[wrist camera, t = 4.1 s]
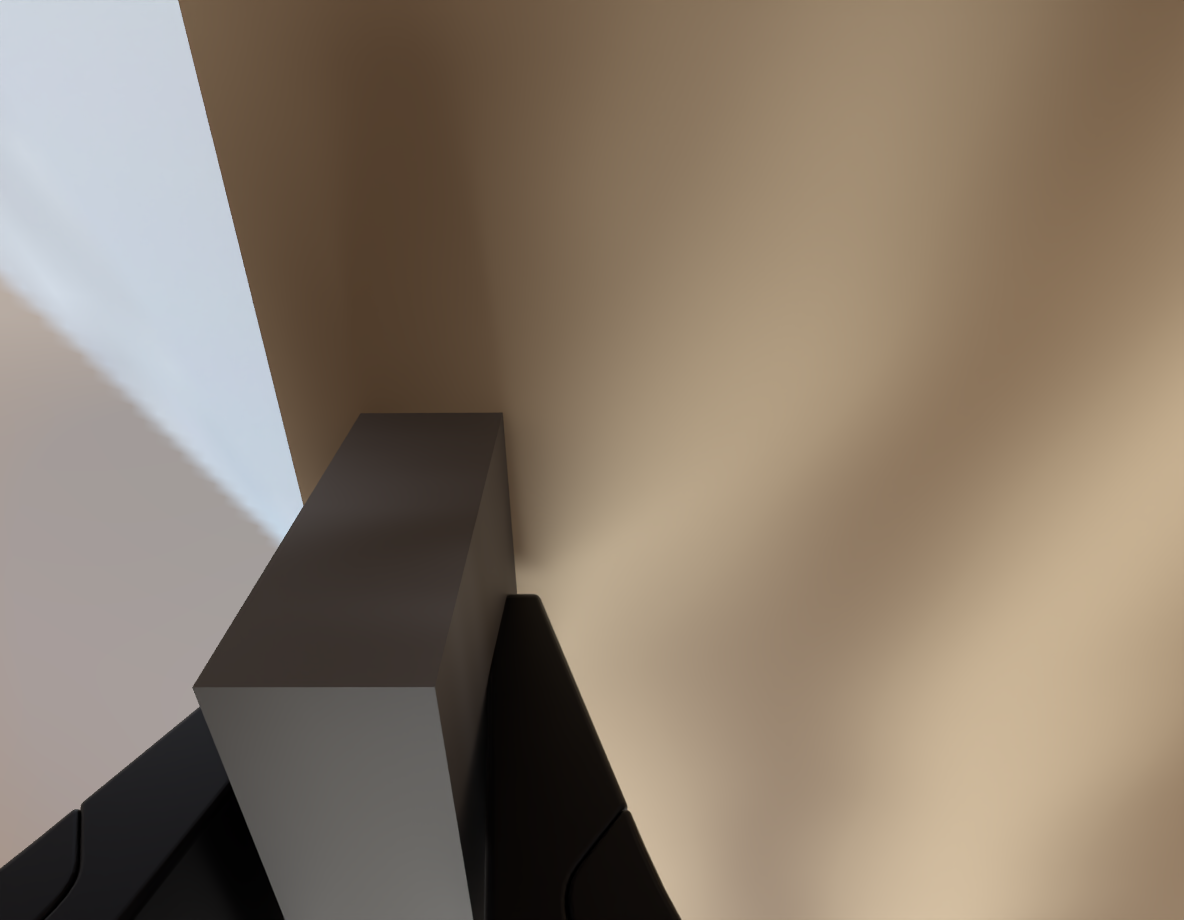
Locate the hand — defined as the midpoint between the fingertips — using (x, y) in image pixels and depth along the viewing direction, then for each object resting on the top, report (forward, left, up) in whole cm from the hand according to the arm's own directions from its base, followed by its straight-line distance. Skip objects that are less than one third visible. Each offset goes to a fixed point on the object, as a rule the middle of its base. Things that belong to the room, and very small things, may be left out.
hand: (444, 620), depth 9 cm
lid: (-5, 0, -1) cm, 6 cm away
